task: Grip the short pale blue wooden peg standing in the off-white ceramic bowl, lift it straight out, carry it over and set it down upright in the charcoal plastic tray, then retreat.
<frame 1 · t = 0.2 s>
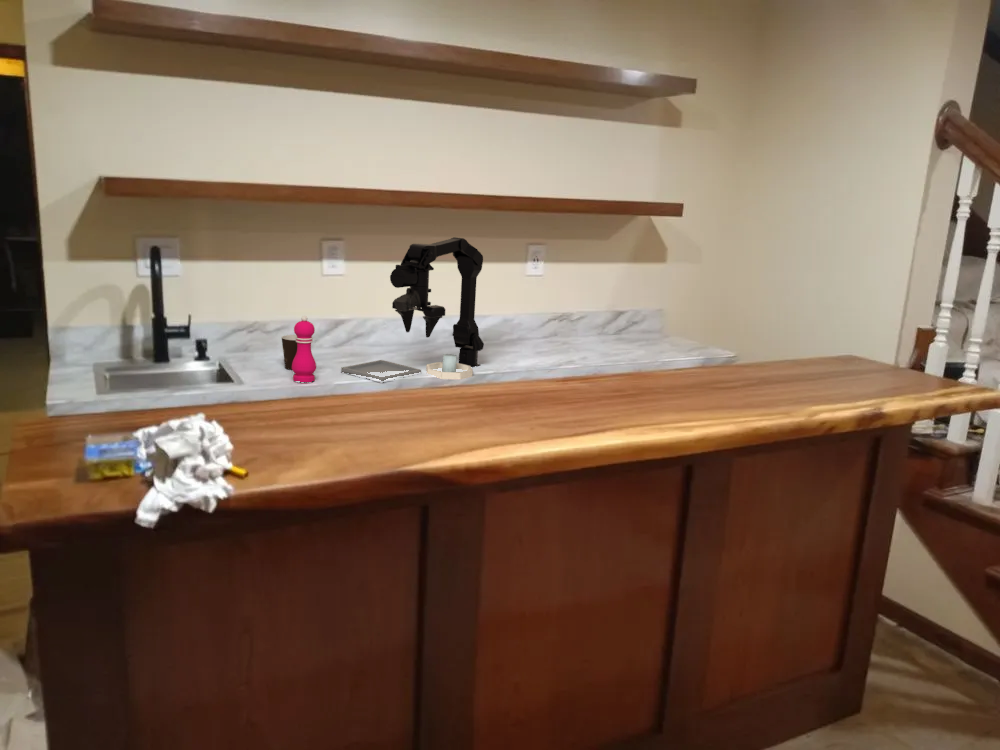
hand: (417, 334, 249), 14 cm above the countertop, fingers open, 9 cm apart
peg: (449, 373, 259), resting on bowl
pepper mill: (303, 381, 240), on the countertop
tray: (381, 373, 255), on the countertop
bowl: (448, 374, 260), on the countertop
coffee mug: (297, 367, 256), on the countertop
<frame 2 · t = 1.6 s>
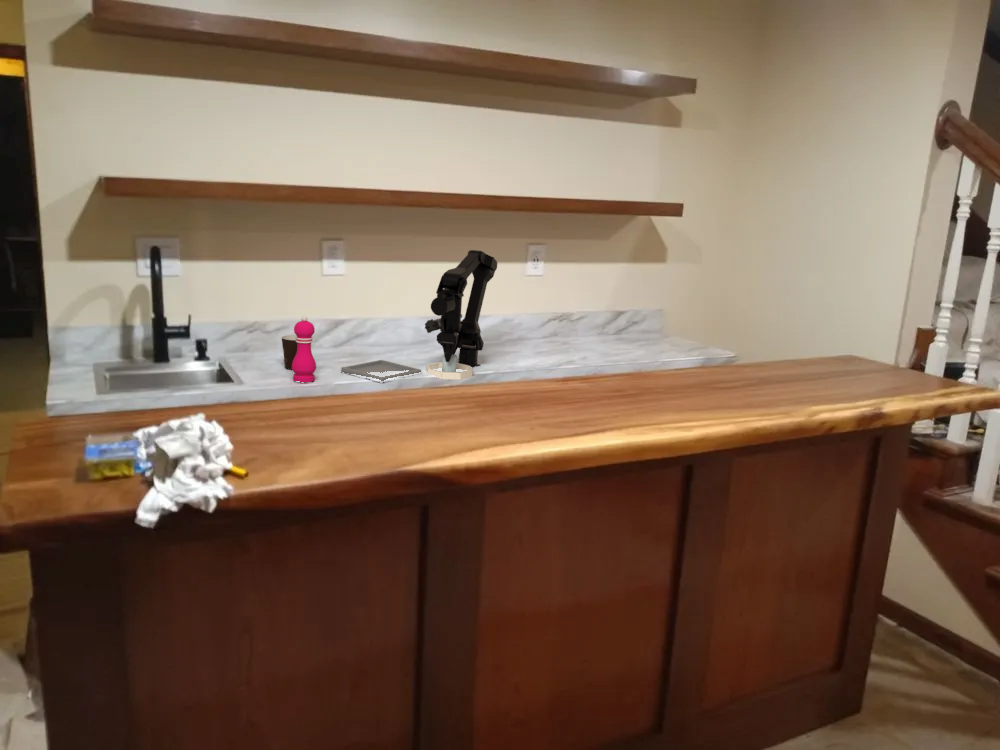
hand: (449, 358, 258), 5 cm above the countertop, fingers open, 9 cm apart
nothing on the countertop moved.
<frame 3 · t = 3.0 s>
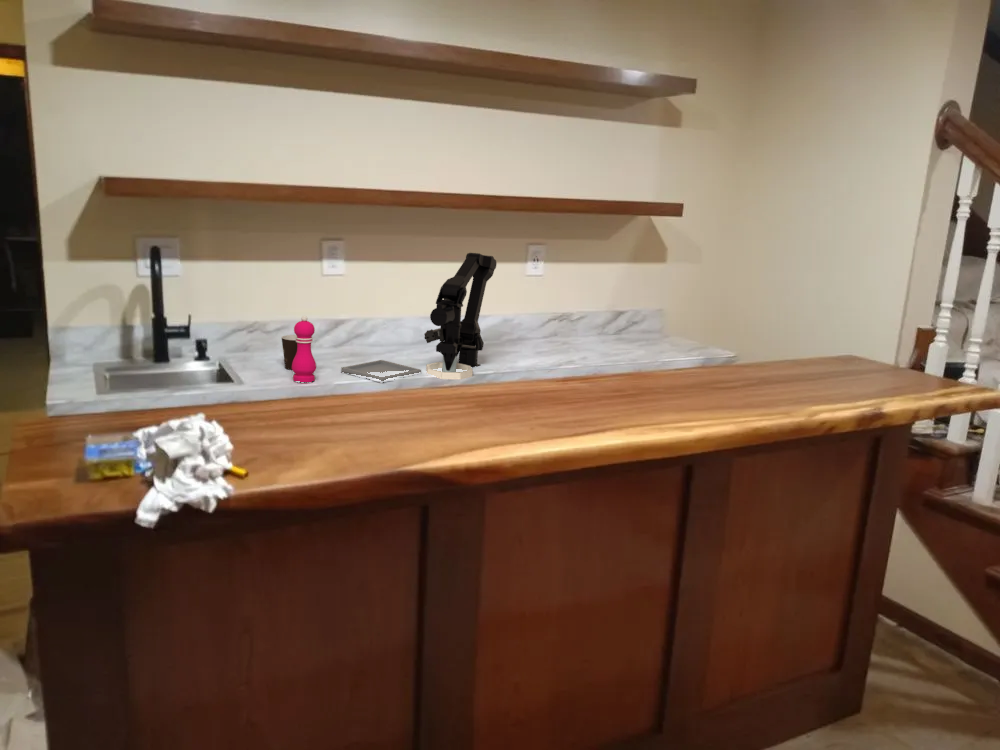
hand: (449, 368, 259), 2 cm above the countertop, fingers closed on peg, 4 cm apart
peg: (449, 373, 259), resting on bowl, touching gripper
everything else where it was.
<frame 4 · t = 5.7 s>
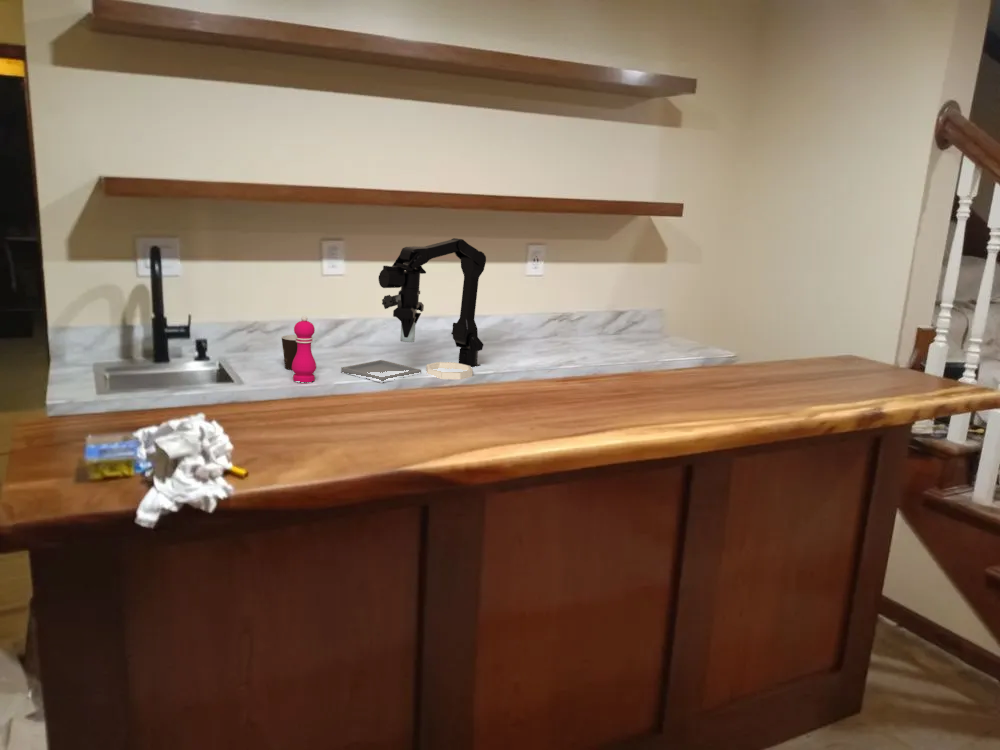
hand: (407, 336, 254), 13 cm above the countertop, fingers closed on peg, 4 cm apart
peg: (407, 341, 254), point 11 cm above the countertop, touching gripper
everything else where it was.
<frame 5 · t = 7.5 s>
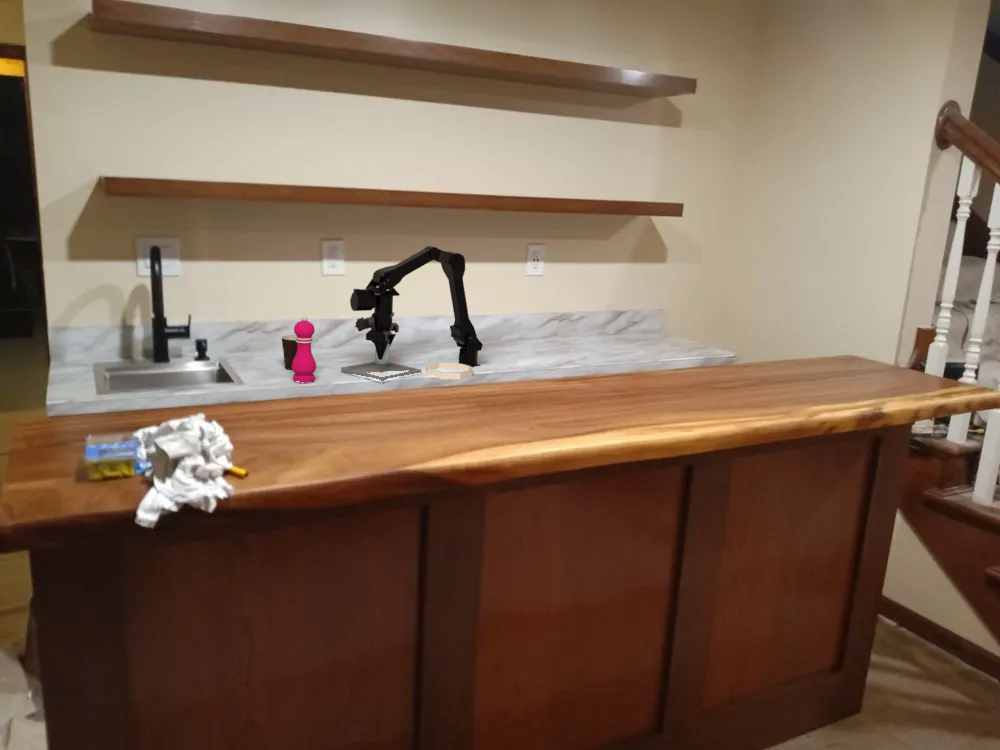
hand: (382, 357, 254), 5 cm above the countertop, fingers closed on peg, 4 cm apart
peg: (382, 362, 255), point 4 cm above the countertop, touching gripper
everything else where it was.
when the fingers open (4 cm above the countertop, at t = 8.6 s): peg drops 2 cm, resting on tray.
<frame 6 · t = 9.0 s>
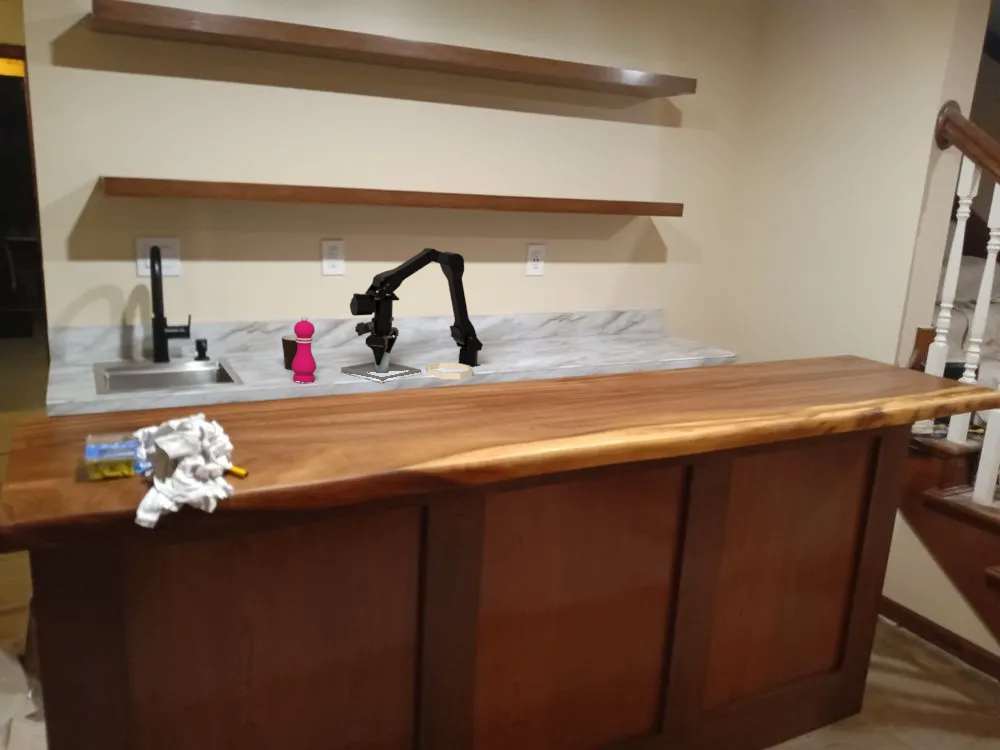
hand: (381, 362, 254), 4 cm above the countertop, fingers open, 9 cm apart
peg: (381, 371, 255), point 1 cm above the countertop, touching tray
everything else where it was.
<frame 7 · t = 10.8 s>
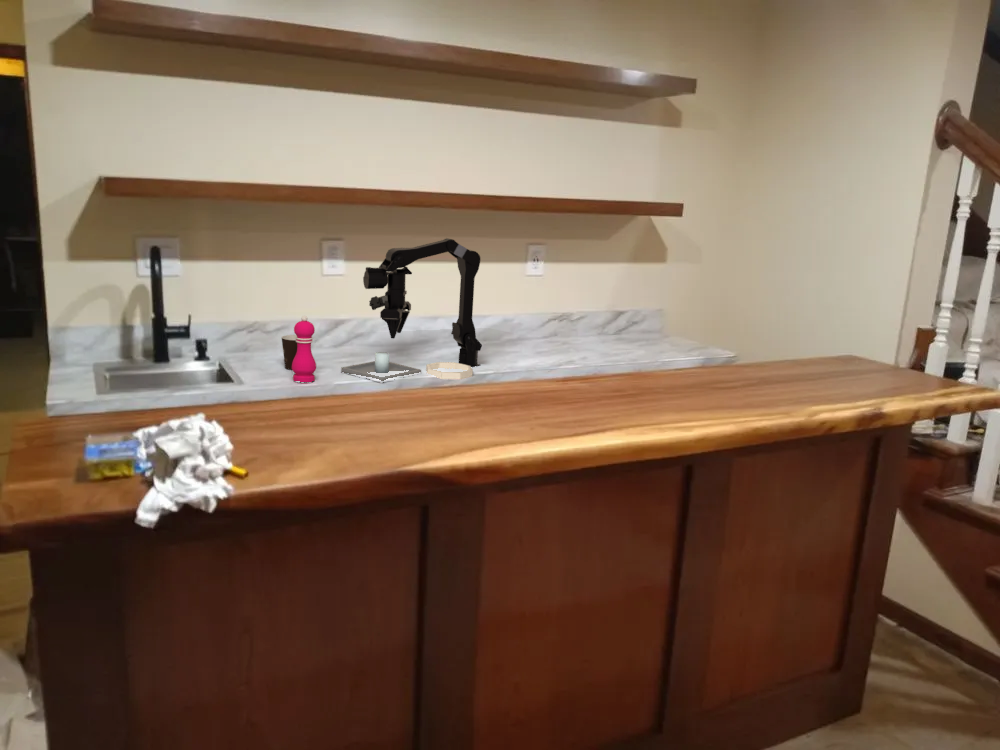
hand: (395, 335, 259), 11 cm above the countertop, fingers open, 9 cm apart
nothing on the countertop moved.
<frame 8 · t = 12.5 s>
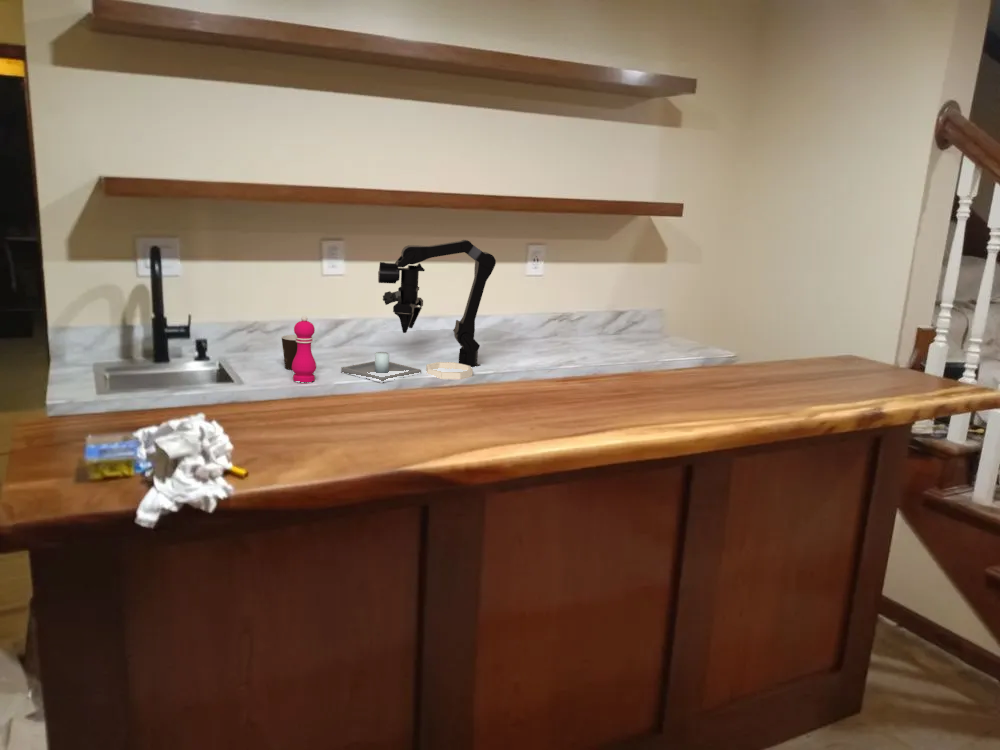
hand: (407, 330, 266), 12 cm above the countertop, fingers open, 9 cm apart
nothing on the countertop moved.
at the end: peg inside the target area on the tray (0.1 cm from its centre), point 0.6 cm above the tray's base; peg tilted 1°; the gripper is holding nothing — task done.
